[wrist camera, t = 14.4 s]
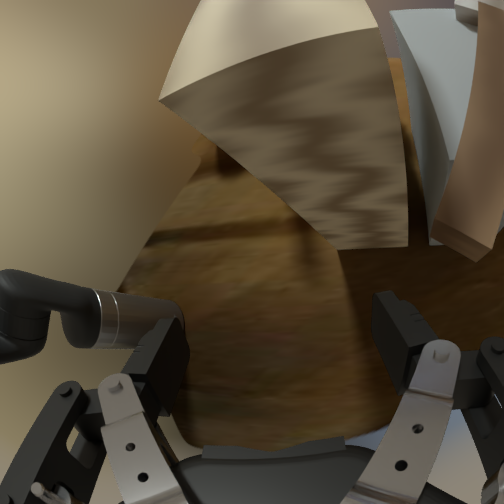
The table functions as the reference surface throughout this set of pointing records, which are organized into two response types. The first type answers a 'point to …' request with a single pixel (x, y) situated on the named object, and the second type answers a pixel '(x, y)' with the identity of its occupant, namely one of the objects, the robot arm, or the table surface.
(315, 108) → the oak stand
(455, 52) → the grey block
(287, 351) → the table surface
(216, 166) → the table surface
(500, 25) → the brown block
